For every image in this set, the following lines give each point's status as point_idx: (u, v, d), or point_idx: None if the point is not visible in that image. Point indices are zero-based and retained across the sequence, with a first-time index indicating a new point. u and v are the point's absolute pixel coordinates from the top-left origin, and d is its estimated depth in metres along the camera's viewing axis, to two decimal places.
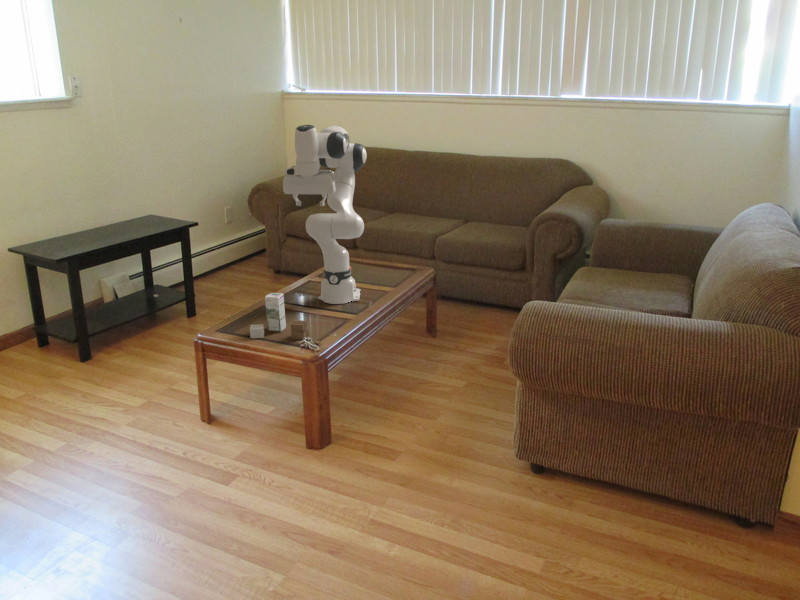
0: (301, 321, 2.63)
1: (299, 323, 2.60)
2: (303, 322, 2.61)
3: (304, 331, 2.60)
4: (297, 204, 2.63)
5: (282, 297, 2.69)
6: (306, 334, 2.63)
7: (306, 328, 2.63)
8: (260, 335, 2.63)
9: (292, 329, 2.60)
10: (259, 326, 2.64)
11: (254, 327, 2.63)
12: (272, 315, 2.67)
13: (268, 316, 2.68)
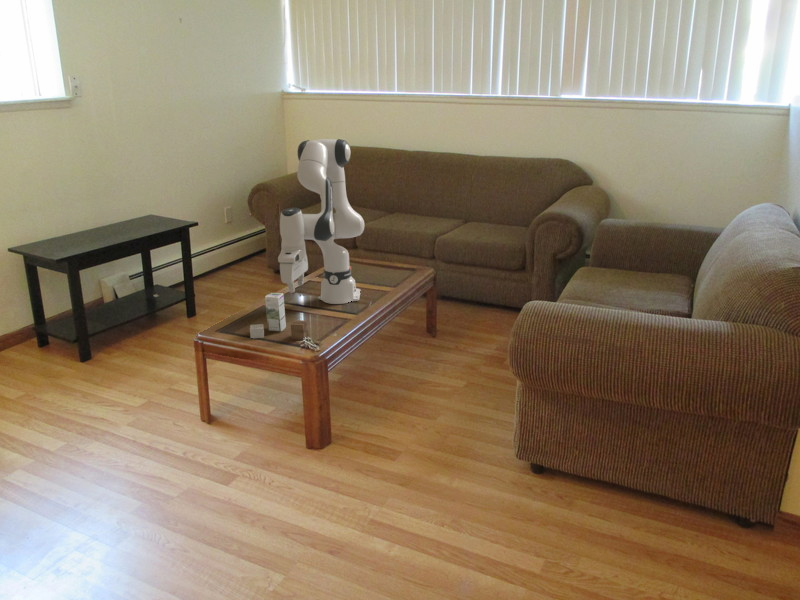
0: (301, 321, 2.63)
1: (299, 323, 2.60)
2: (303, 322, 2.61)
3: (304, 331, 2.60)
4: (294, 290, 2.52)
5: (282, 297, 2.69)
6: (306, 334, 2.63)
7: (306, 328, 2.63)
8: (260, 335, 2.63)
9: (292, 329, 2.60)
10: (259, 326, 2.64)
11: (254, 327, 2.63)
12: (272, 315, 2.67)
13: (268, 316, 2.68)
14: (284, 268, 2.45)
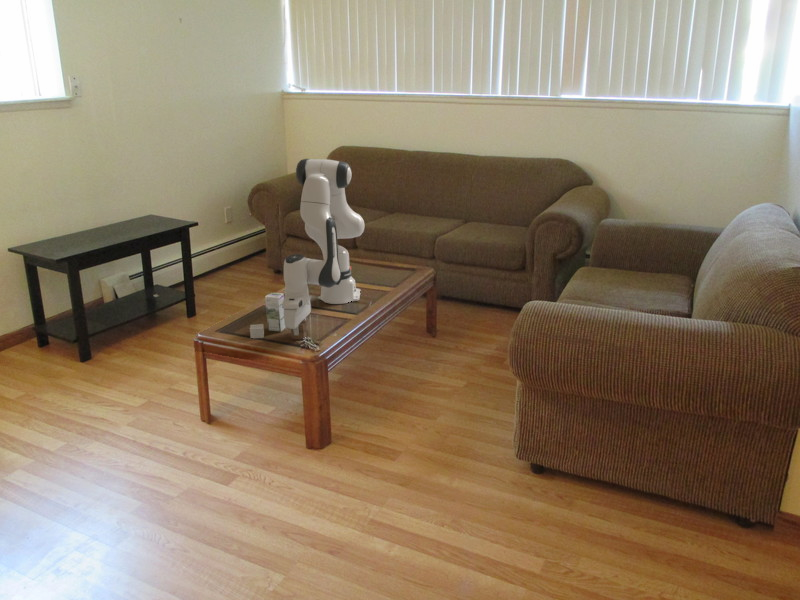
0: None
1: None
2: (303, 322, 2.61)
3: (304, 331, 2.60)
4: (298, 333, 2.59)
5: (282, 297, 2.69)
6: (306, 334, 2.63)
7: (306, 328, 2.63)
8: (260, 335, 2.63)
9: (292, 329, 2.60)
10: (259, 326, 2.64)
11: (254, 327, 2.63)
12: (272, 315, 2.67)
13: (268, 316, 2.68)
14: (287, 315, 2.51)
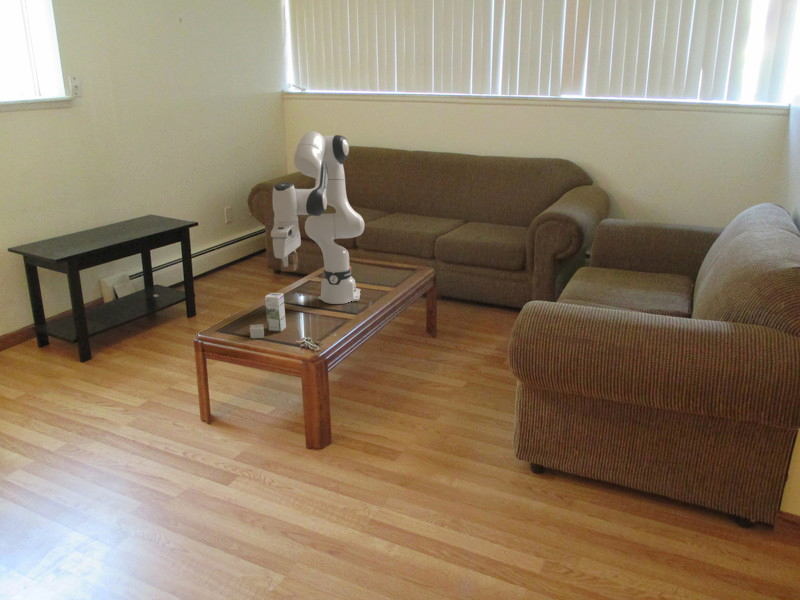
0: (291, 253, 2.57)
1: (289, 254, 2.55)
2: (293, 253, 2.56)
3: (294, 262, 2.54)
4: (288, 264, 2.53)
5: (282, 297, 2.69)
6: (296, 266, 2.57)
7: (296, 259, 2.57)
8: (260, 335, 2.63)
9: None
10: (259, 326, 2.64)
11: (254, 327, 2.63)
12: (272, 315, 2.67)
13: (268, 316, 2.68)
14: (276, 243, 2.45)
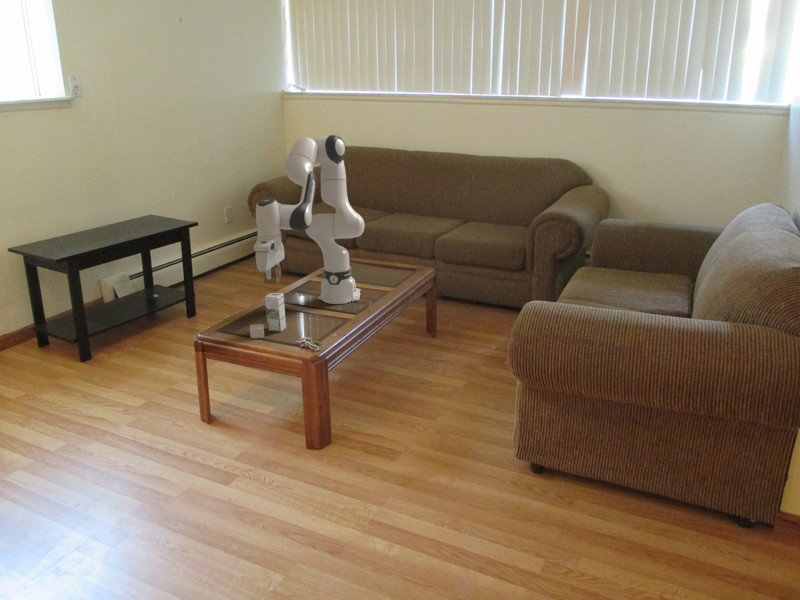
0: (274, 266, 2.65)
1: (272, 267, 2.63)
2: (276, 266, 2.64)
3: (277, 275, 2.63)
4: (271, 277, 2.62)
5: (282, 297, 2.69)
6: (279, 279, 2.66)
7: (279, 272, 2.66)
8: (260, 335, 2.63)
9: (265, 273, 2.63)
10: (259, 326, 2.64)
11: (254, 327, 2.63)
12: (272, 315, 2.67)
13: (268, 316, 2.68)
14: (259, 257, 2.53)
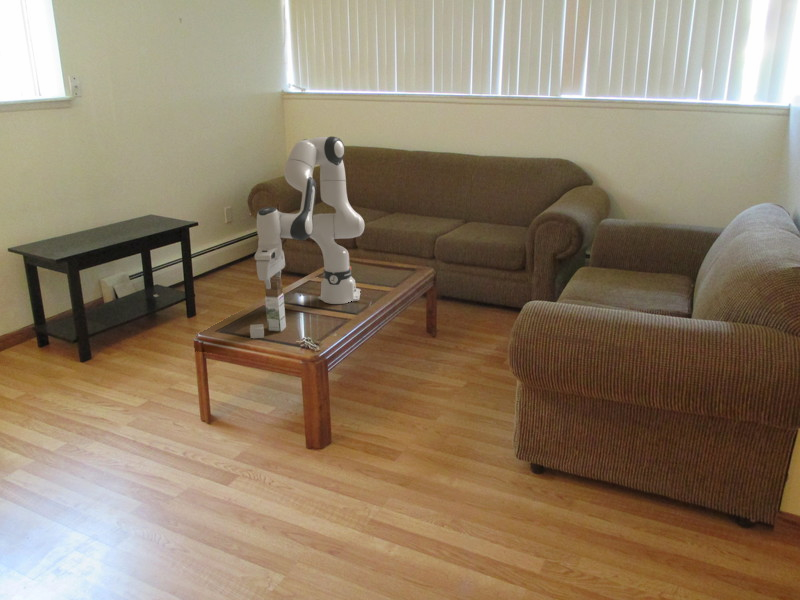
0: (275, 278, 2.67)
1: (273, 280, 2.65)
2: (277, 279, 2.66)
3: (278, 288, 2.65)
4: (270, 287, 2.62)
5: (282, 297, 2.69)
6: (280, 291, 2.67)
7: (280, 285, 2.67)
8: (260, 335, 2.63)
9: None
10: (259, 326, 2.64)
11: (254, 327, 2.63)
12: (272, 315, 2.67)
13: (268, 316, 2.68)
14: (260, 266, 2.54)
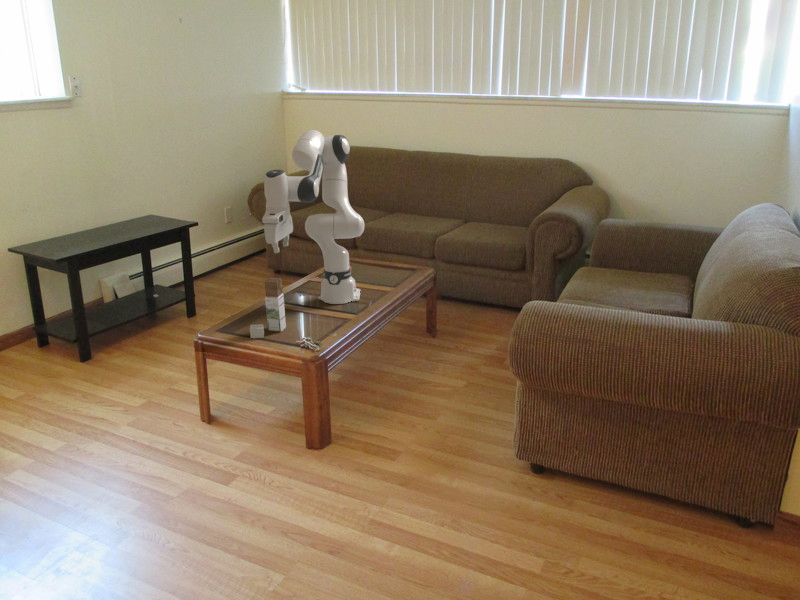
0: (275, 278, 2.67)
1: (273, 280, 2.65)
2: (277, 279, 2.66)
3: (278, 288, 2.65)
4: (278, 251, 2.58)
5: (282, 297, 2.69)
6: (280, 291, 2.67)
7: (280, 285, 2.67)
8: (260, 335, 2.63)
9: (266, 286, 2.64)
10: (259, 326, 2.64)
11: (254, 327, 2.63)
12: (272, 315, 2.67)
13: (268, 316, 2.68)
14: (268, 229, 2.51)
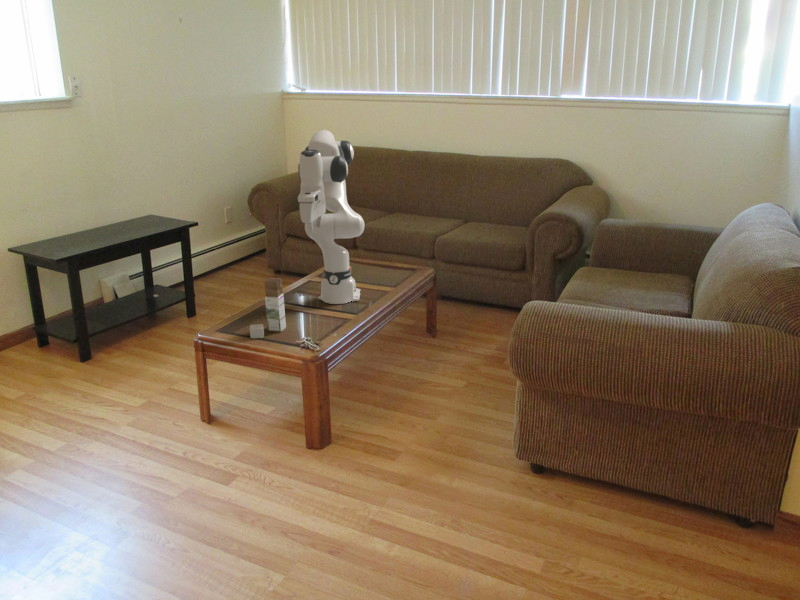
0: (275, 279, 2.67)
1: (273, 280, 2.65)
2: (277, 279, 2.66)
3: (278, 288, 2.65)
4: (313, 231, 2.58)
5: (282, 297, 2.69)
6: (280, 291, 2.67)
7: (280, 285, 2.67)
8: (260, 335, 2.63)
9: (266, 286, 2.64)
10: (259, 326, 2.64)
11: (254, 327, 2.63)
12: (272, 315, 2.67)
13: (268, 316, 2.68)
14: (303, 208, 2.52)
